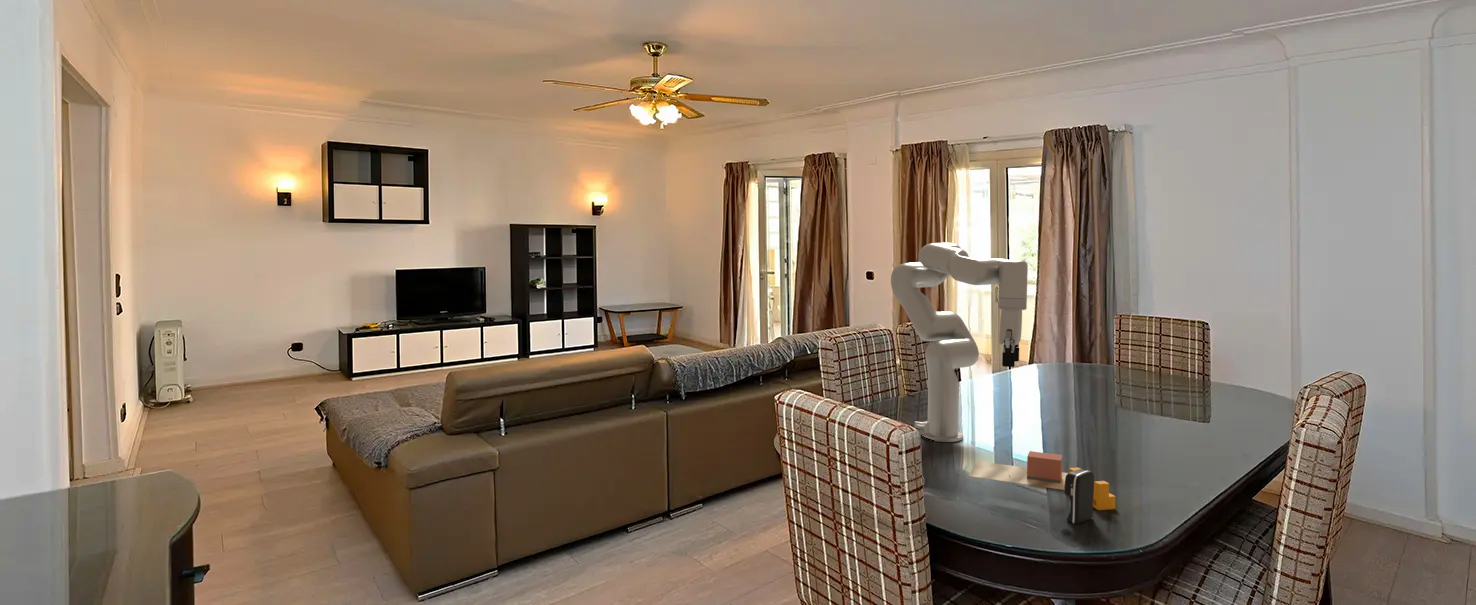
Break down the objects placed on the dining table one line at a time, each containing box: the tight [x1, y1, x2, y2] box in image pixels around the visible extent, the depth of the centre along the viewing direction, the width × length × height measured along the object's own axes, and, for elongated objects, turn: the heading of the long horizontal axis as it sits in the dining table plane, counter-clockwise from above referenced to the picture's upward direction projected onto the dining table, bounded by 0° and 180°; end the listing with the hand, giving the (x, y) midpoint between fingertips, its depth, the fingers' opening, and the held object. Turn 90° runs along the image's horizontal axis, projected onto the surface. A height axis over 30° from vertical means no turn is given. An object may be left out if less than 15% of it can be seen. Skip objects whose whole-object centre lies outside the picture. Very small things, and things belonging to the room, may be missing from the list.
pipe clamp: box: [1068, 467, 1117, 511], centre depth 178 cm, size 12×4×6 cm, turn 9°
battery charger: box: [1063, 468, 1095, 525], centre depth 166 cm, size 7×4×11 cm, turn 124°
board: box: [967, 460, 1069, 497], centre depth 193 cm, size 24×14×2 cm, turn 62°
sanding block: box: [1026, 450, 1063, 483], centre depth 190 cm, size 8×5×6 cm, turn 62°
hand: (1010, 363), depth 207 cm, fingers open, 9 cm apart
